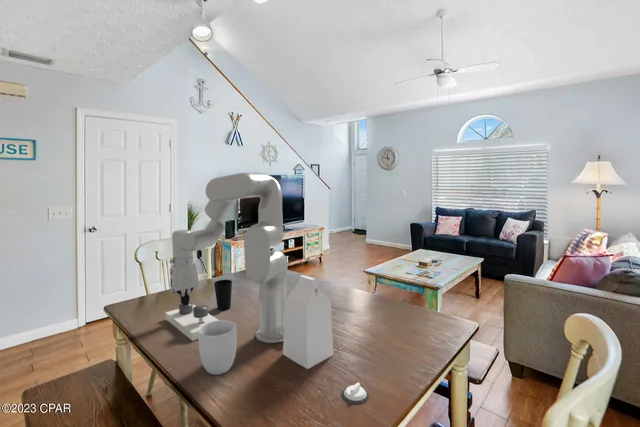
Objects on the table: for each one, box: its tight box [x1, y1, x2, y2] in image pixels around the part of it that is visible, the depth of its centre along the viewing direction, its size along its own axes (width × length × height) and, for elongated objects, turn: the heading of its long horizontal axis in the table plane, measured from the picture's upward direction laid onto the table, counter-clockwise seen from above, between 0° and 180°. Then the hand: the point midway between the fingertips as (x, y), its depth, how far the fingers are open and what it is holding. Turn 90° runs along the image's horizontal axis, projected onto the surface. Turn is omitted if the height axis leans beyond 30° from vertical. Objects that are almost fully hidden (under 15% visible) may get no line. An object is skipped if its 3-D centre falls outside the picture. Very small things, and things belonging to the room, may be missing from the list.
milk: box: [282, 275, 334, 370], centre depth 107 cm, size 12×12×26 cm
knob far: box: [178, 301, 194, 314], centre depth 135 cm, size 5×5×6 cm
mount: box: [165, 304, 219, 342], centre depth 131 cm, size 26×12×3 cm, turn 45°
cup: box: [214, 279, 233, 312], centre depth 147 cm, size 8×8×12 cm
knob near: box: [193, 304, 209, 324], centre depth 125 cm, size 5×5×6 cm
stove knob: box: [341, 381, 370, 406], centre depth 87 cm, size 7×7×3 cm
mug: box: [198, 319, 238, 376], centre depth 101 cm, size 15×11×13 cm
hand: (185, 304), depth 135 cm, fingers closed
